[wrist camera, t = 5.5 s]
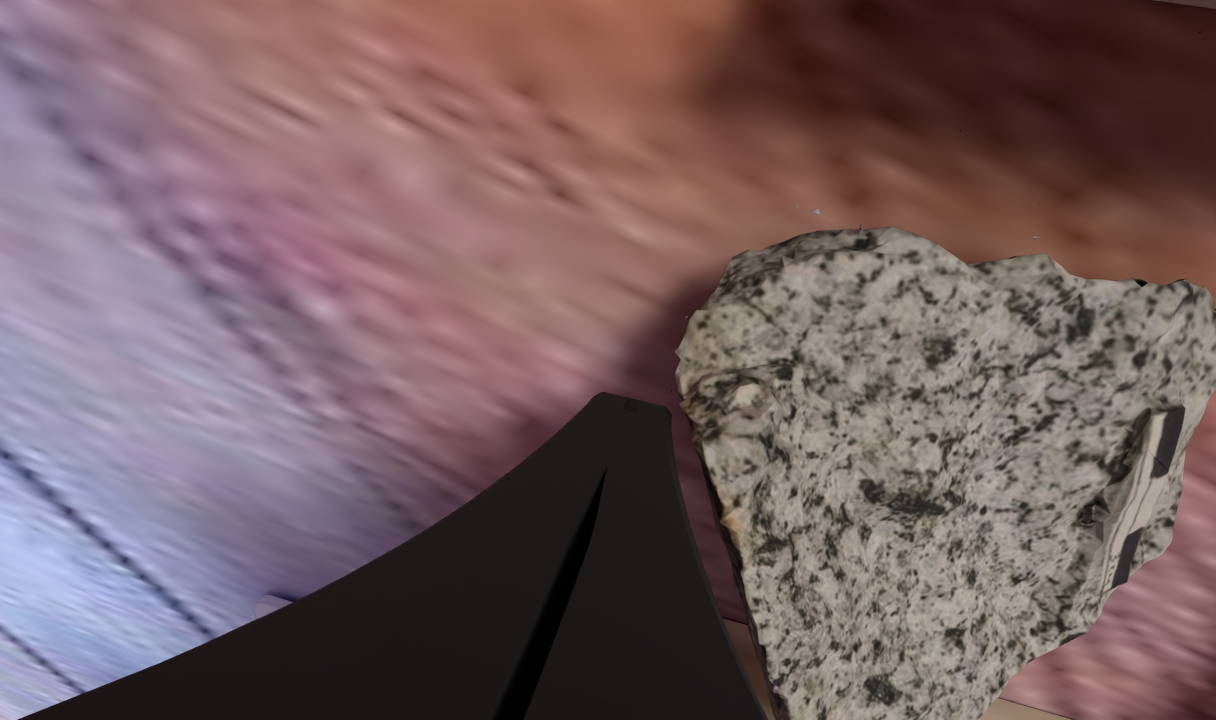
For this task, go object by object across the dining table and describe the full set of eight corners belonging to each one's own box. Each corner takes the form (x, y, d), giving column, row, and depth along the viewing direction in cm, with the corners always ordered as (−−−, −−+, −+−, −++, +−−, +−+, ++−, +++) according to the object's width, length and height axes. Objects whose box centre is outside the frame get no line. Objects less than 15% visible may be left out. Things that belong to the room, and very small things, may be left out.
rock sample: (1593, 809, 7) (1340, 1614, 3) (980, 624, 14) (692, 821, 10) (1325, 26, 7) (849, 19, 4) (861, 232, 14) (546, 296, 11)
